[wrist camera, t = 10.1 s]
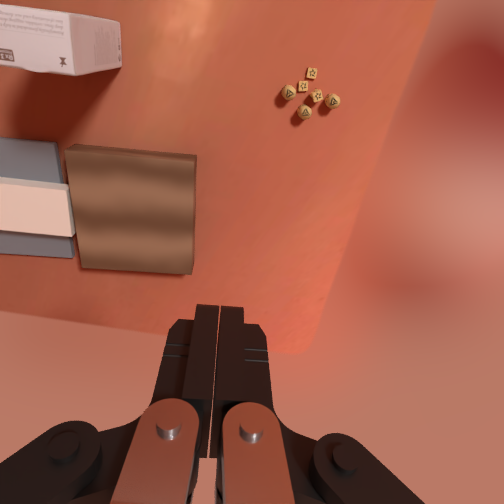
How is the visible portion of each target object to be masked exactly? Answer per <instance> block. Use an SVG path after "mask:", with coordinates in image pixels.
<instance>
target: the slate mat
mask: <svg viewBox="0 0 504 504" xmlns="http://www.w3.org/2000/svg"><path fill="white" fill-rule="evenodd" d="M0 177H6V178H15V179H24V180H33V181H42V182H51V183H60V184H64V183H63V177H62V171H61V165H60V158H59V152H58V146H57V142H48V141H37V140H26V139H15V138H4V137H0ZM0 253H4V254H19V255H34V256H49V257H64V258H73V257H74V256H75V252H74V246H73V240H72V237H68V236H57V235H47V234H37V233H27V232H17V231H7V230H0Z"/></svg>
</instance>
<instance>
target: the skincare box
mask: <svg viewBox="0 0 504 504" xmlns="http://www.w3.org/2000/svg"><path fill="white" fill-rule="evenodd" d="M0 66H3V67H10V68H17V69H25V70H29V71H33V72H40V73H44V72H46V73H54V74H61V75H69V76H79V75H85V74H89V73H94V72H99V71H105V70H110V69H115V68H120V67H122V56H121V32H120V23H119V22H117V21H113V20H109V19H104V18H99V17H93V16H88V15H81V14H75V13H68V12H61V11H53V10H46V9H38V8H29V7H22V6H14V5H4V4H0Z"/></svg>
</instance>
